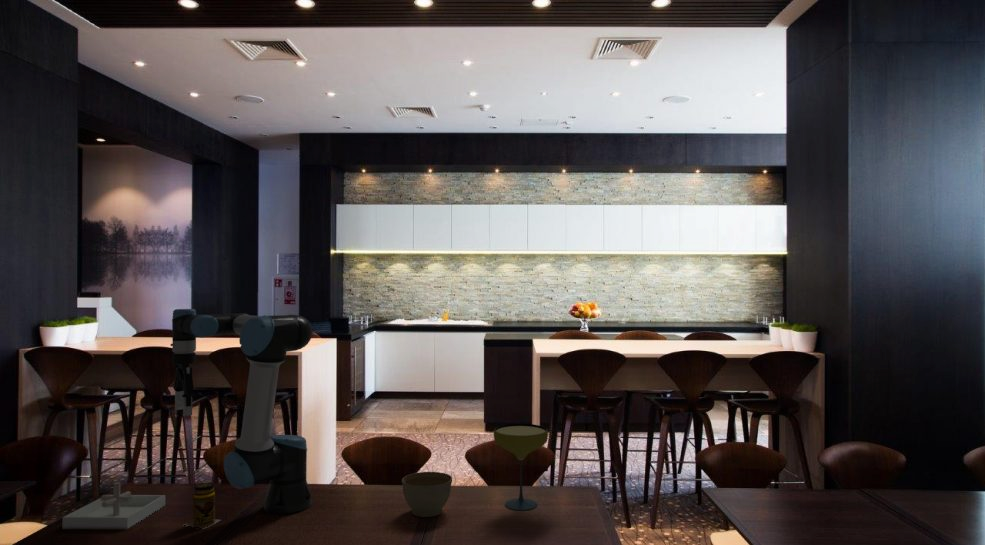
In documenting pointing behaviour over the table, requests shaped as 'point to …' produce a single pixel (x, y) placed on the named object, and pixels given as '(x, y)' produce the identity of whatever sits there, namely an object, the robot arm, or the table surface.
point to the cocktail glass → (520, 452)
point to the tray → (103, 516)
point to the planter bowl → (426, 492)
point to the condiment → (204, 505)
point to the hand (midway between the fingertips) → (183, 412)
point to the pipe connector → (116, 499)
